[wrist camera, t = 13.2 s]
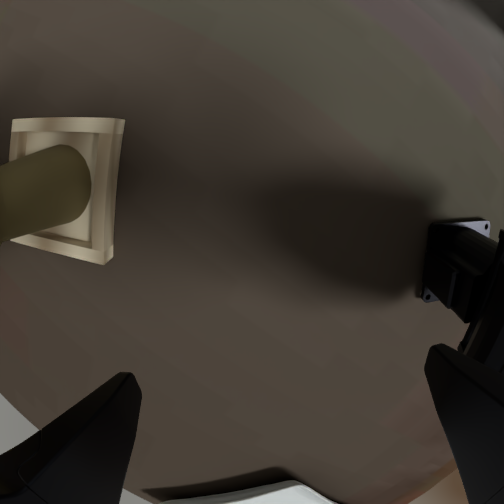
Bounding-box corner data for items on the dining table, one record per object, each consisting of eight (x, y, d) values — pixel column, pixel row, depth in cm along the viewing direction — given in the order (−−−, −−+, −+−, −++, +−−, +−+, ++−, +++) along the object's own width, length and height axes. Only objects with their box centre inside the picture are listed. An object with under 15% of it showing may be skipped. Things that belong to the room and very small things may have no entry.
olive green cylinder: (23, 177, 18) (-83, 212, 8) (67, 127, 17) (-55, 136, 7) (57, 237, 20) (-42, 303, 9) (105, 194, 19) (-10, 247, 8)
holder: (125, 119, 17) (115, 118, 16) (113, 256, 21) (103, 265, 19) (25, 118, 17) (12, 119, 15) (21, 234, 20) (10, 240, 19)
